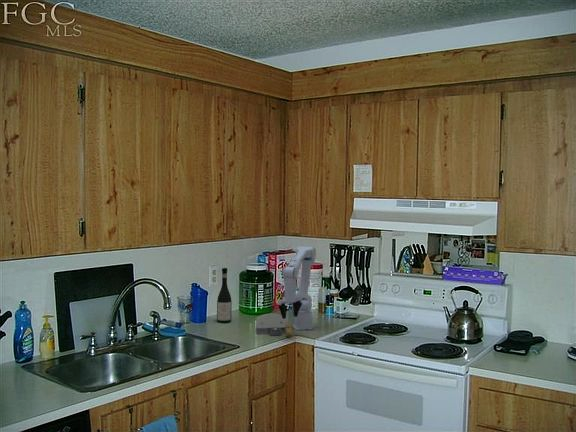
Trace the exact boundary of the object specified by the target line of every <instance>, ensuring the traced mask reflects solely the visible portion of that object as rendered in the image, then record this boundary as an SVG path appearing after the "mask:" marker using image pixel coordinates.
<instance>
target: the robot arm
mask: <svg viewBox="0 0 576 432" xmlns="http://www.w3.org/2000/svg"><path fill="white" fill-rule="evenodd" d="M316 251H317V249H316V248H315V246H302V245H297V247H296V249H295V257H294V258H292V259H291V261H290V262H289V264H288V265H287V266H286V267H284V268H283V269H282V277H283V282H284V297H283V298H282V299H279V300H277V307H278V310H279V311H280V315H282V318H283V319H285V320H286V318H287V312H288V311H287V310H288V305H287V304H291V309H292V310H293V312H292V313H293V317H294V324H293V329H294V330H295V331H298V330H299V331H302V330H304V331H306V329H307V330H314V315H313V311H311V310H312V307H313V303H312V302H313V299H312V297H311V296H310V295H309V293H308V292H309V285H310V277H311V270H312V269H311V268H312V265H313V264H315V261H316V255H317V254H316V253H317V252H316ZM300 269H301V273H300V279H299V280H300V281H299V287H298V293H297V291H296V290H297V278H298V275H299V270H300Z"/></svg>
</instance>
